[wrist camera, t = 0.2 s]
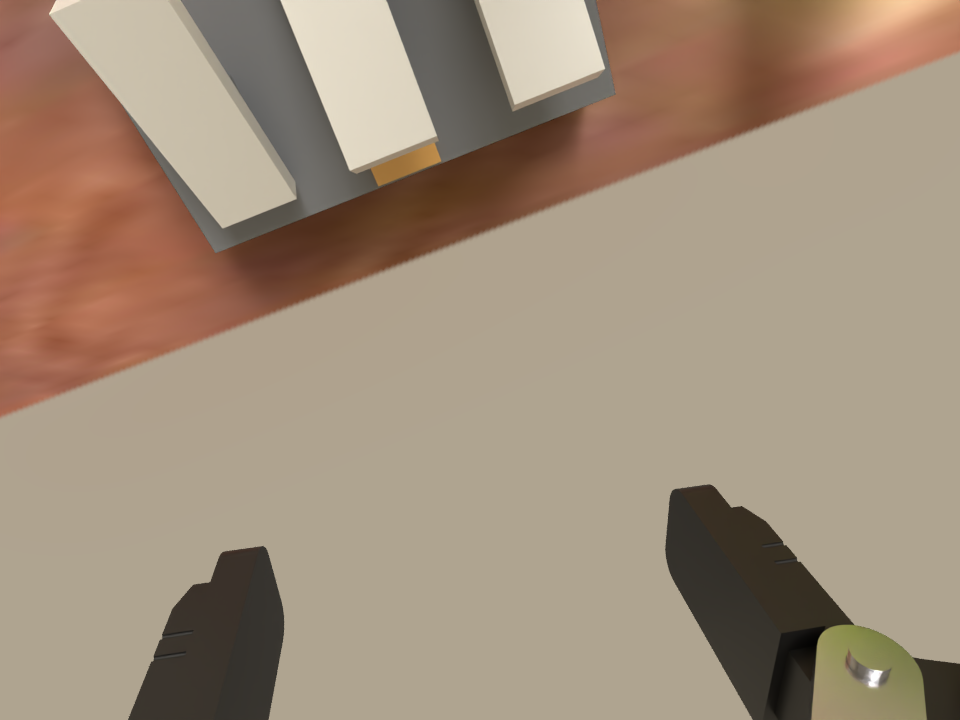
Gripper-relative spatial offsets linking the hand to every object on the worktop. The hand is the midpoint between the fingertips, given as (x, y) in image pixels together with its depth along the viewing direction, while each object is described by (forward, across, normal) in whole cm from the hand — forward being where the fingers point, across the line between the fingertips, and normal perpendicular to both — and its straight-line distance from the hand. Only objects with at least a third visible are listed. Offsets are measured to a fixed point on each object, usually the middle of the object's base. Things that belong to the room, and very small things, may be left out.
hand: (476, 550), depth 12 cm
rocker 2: (+15, +2, -10) cm, 18 cm away
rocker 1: (+15, +8, -8) cm, 19 cm away
